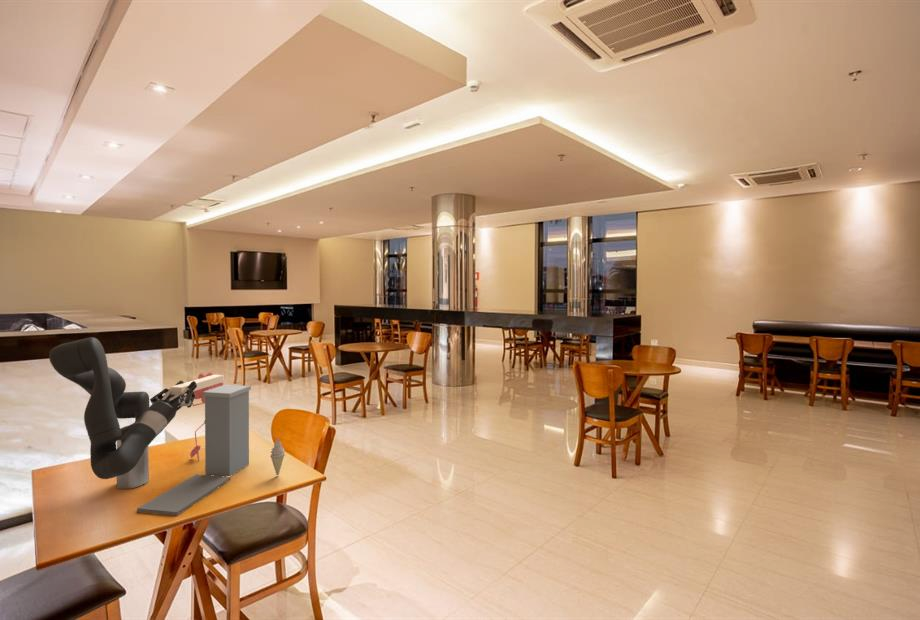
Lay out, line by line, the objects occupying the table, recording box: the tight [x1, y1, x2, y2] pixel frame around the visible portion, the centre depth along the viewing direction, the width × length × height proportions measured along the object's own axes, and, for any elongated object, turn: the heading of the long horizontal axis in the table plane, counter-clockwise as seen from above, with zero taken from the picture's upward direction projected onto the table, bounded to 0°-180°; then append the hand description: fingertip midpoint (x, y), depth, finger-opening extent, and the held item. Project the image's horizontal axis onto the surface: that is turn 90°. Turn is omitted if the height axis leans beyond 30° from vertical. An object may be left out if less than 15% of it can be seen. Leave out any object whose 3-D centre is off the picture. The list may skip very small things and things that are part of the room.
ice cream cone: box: [270, 437, 286, 476], centre depth 170 cm, size 5×5×15 cm
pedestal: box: [203, 384, 252, 477], centre depth 174 cm, size 13×11×32 cm
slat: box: [169, 374, 225, 395], centre depth 158 cm, size 22×4×2 cm, turn 174°
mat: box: [136, 473, 231, 517], centre depth 154 cm, size 26×14×1 cm, turn 172°
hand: (188, 383), depth 153 cm, fingers closed on slat, 4 cm apart
